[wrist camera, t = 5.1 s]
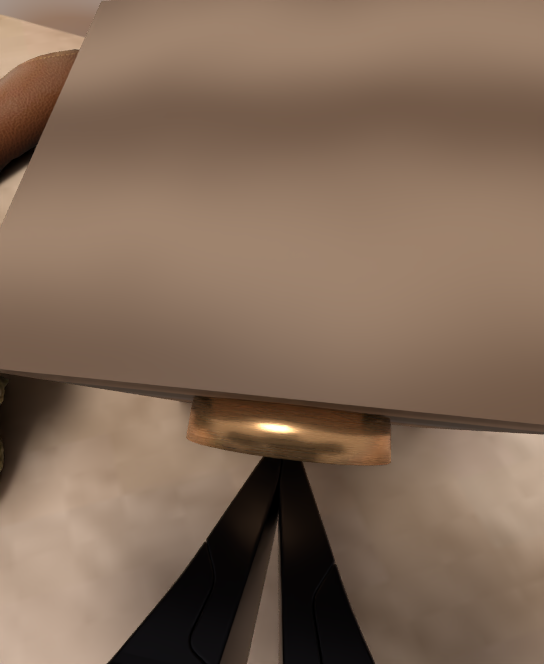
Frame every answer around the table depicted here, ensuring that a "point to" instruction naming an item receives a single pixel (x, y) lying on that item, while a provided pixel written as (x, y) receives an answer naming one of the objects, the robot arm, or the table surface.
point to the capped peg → (290, 431)
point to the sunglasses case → (30, 101)
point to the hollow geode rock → (0, 385)
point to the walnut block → (292, 210)
